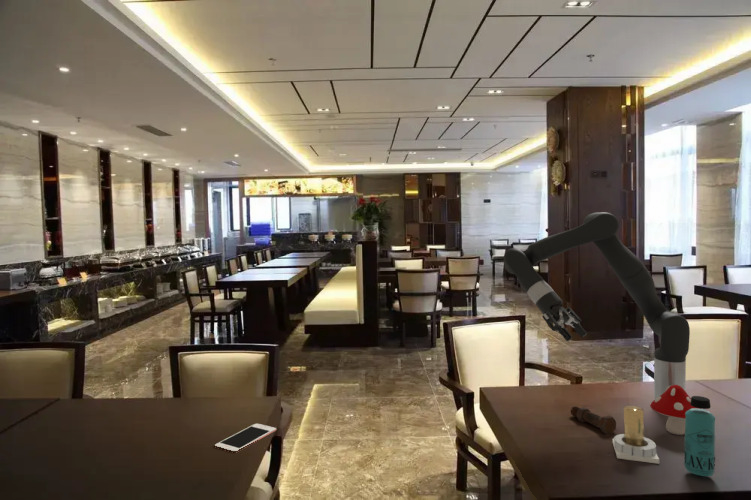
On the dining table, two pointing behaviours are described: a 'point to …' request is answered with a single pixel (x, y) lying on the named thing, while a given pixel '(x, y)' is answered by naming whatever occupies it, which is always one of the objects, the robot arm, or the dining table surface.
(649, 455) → the seat block
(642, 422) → the cylinder
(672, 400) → the decorative mushroom
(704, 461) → the beverage bottle
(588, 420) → the bolt
